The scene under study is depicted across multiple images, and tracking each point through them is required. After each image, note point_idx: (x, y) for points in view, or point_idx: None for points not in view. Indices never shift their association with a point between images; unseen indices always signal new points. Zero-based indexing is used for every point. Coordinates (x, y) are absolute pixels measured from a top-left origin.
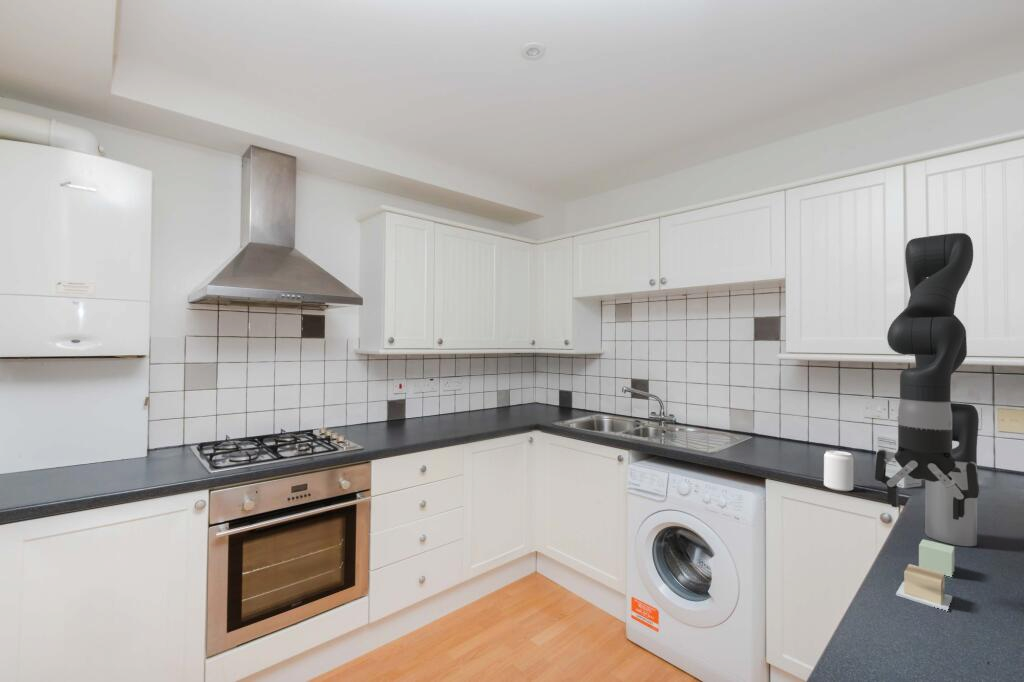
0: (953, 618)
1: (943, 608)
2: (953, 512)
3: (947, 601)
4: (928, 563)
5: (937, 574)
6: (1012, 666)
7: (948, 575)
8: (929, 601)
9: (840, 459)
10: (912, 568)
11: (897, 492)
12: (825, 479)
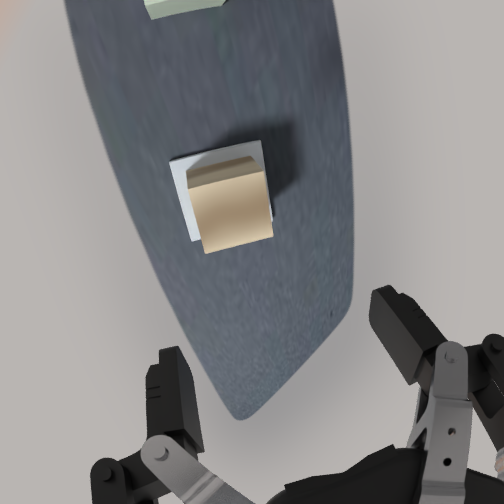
0: (283, 235)
1: None
2: (382, 340)
3: None
4: (172, 9)
5: (255, 195)
6: (350, 298)
7: (215, 5)
8: None
9: None
10: (206, 213)
11: (188, 412)
12: None
